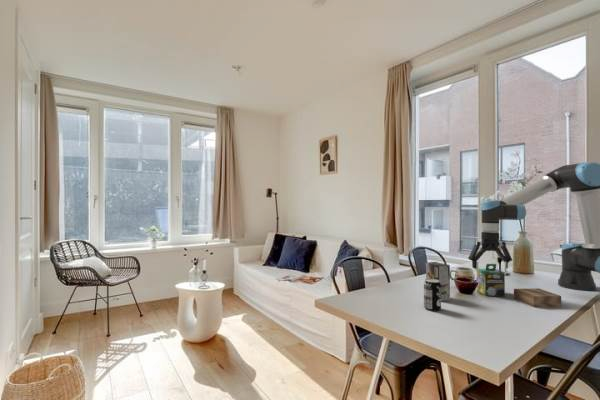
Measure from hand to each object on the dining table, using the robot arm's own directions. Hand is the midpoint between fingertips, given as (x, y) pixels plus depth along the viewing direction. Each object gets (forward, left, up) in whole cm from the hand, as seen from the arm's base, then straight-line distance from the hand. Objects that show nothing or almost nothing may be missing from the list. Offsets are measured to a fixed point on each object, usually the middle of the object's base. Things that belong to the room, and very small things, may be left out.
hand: (489, 275), depth 154 cm
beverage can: (+38, +22, -9) cm, 45 cm away
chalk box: (0, 0, -9) cm, 9 cm away
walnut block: (-12, +14, -9) cm, 21 cm away
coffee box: (+29, +7, -9) cm, 31 cm away
